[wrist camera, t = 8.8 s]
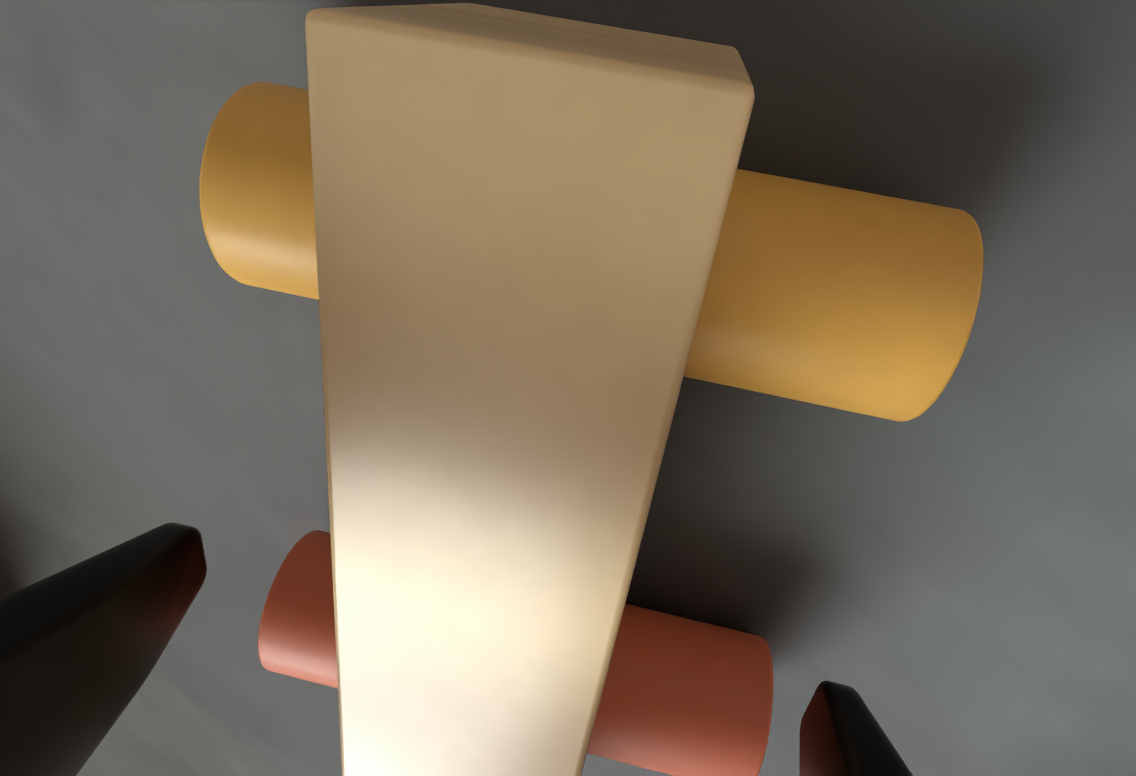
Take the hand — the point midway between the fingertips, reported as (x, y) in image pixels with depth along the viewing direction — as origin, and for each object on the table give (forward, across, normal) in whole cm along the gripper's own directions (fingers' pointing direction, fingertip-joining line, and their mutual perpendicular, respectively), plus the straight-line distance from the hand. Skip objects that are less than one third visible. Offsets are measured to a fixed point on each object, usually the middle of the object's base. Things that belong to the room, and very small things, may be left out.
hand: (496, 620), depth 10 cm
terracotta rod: (+5, 0, +4) cm, 6 cm away
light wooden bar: (+2, 0, 0) cm, 2 cm away
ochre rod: (+5, 0, -4) cm, 6 cm away
